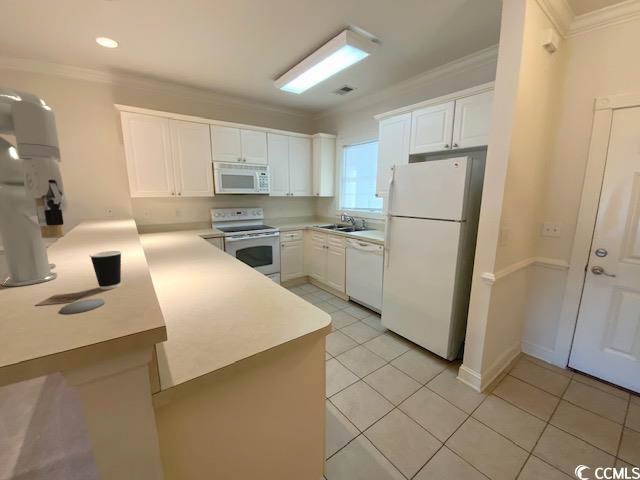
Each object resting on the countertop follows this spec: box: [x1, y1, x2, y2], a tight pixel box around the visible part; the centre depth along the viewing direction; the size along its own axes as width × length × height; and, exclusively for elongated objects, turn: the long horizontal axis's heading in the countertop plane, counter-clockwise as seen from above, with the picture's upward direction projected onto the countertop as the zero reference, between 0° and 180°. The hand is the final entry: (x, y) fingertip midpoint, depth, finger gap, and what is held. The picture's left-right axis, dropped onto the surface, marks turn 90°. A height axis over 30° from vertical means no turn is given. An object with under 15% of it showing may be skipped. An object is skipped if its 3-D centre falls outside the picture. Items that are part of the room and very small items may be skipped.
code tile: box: [34, 291, 89, 307], centre depth 73 cm, size 8×8×1 cm
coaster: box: [60, 298, 105, 315], centre depth 68 cm, size 8×8×1 cm
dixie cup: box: [89, 250, 123, 290], centre depth 82 cm, size 8×8×11 cm
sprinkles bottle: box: [35, 195, 66, 239], centre depth 70 cm, size 5×5×13 cm
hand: (51, 224), depth 70 cm, fingers closed on sprinkles bottle, 4 cm apart
